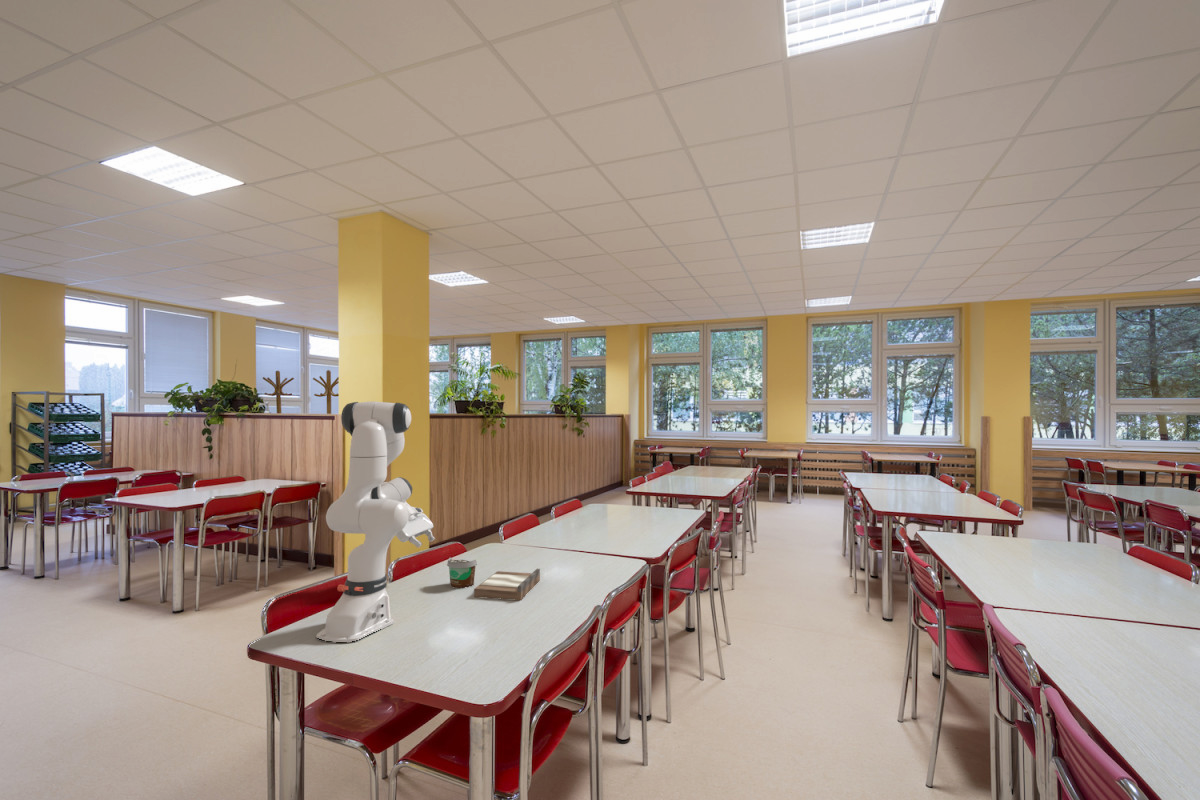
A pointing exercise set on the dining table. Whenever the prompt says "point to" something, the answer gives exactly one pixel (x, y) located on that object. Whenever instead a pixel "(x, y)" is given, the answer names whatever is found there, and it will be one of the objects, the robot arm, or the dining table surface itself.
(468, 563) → the food container
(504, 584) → the block
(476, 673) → the dining table surface
